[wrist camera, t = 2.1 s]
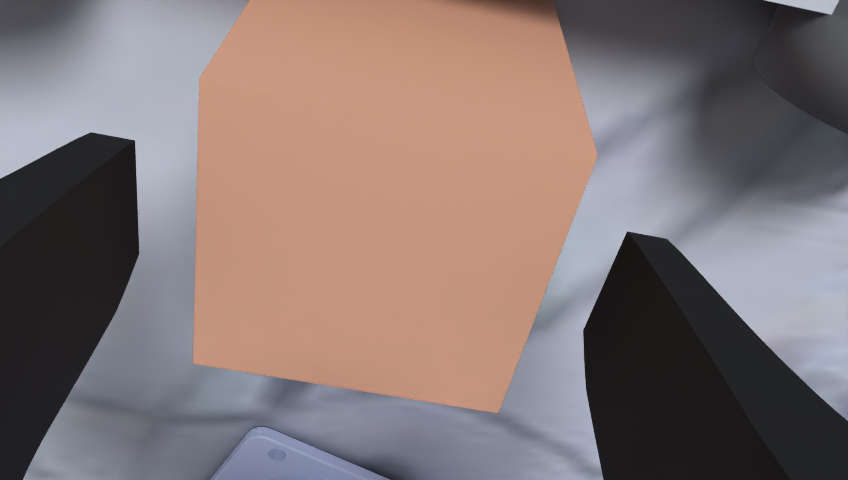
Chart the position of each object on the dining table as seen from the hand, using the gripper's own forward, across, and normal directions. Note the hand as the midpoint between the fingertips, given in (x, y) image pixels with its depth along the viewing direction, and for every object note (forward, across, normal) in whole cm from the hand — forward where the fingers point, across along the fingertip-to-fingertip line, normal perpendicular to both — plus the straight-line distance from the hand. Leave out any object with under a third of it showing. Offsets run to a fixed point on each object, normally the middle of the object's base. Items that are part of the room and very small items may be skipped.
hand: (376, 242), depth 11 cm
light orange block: (+5, 0, 0) cm, 5 cm away
